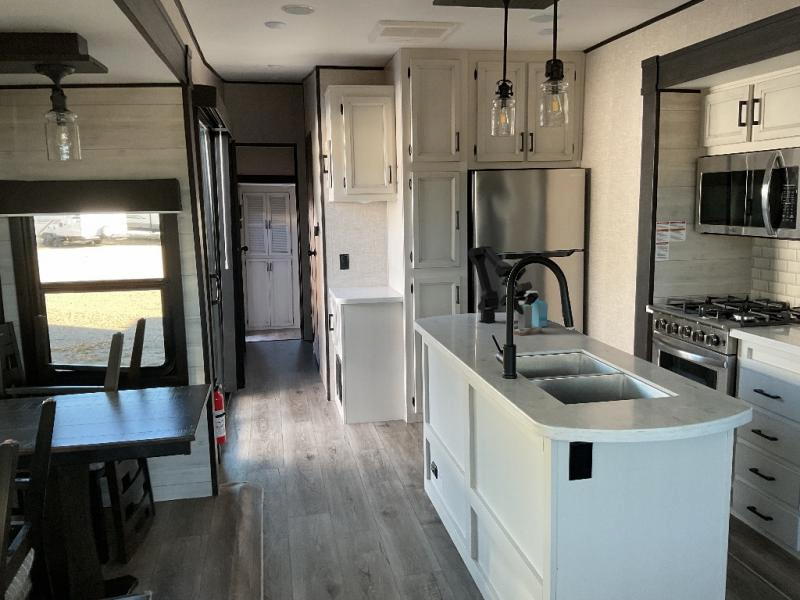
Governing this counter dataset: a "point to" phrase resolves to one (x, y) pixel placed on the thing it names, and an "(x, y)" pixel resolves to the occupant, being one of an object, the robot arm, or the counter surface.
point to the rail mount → (527, 330)
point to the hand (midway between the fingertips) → (526, 313)
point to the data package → (539, 313)
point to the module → (525, 317)
